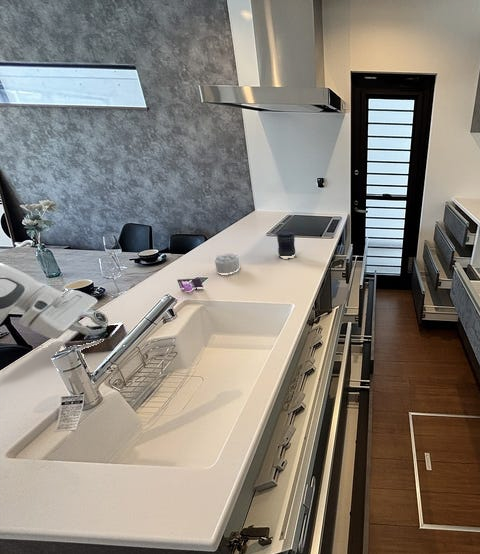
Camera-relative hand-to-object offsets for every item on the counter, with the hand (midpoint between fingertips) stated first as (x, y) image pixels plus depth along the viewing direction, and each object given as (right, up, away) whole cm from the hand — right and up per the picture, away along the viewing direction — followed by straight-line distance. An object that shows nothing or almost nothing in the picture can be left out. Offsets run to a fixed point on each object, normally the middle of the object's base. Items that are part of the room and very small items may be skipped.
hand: (95, 326), depth 98 cm
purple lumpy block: (+9, +9, +38) cm, 40 cm away
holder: (-1, -6, +2) cm, 7 cm away
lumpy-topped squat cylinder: (+15, +19, +60) cm, 65 cm away
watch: (-1, -6, +2) cm, 6 cm away
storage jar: (+39, +28, +84) cm, 97 cm away
